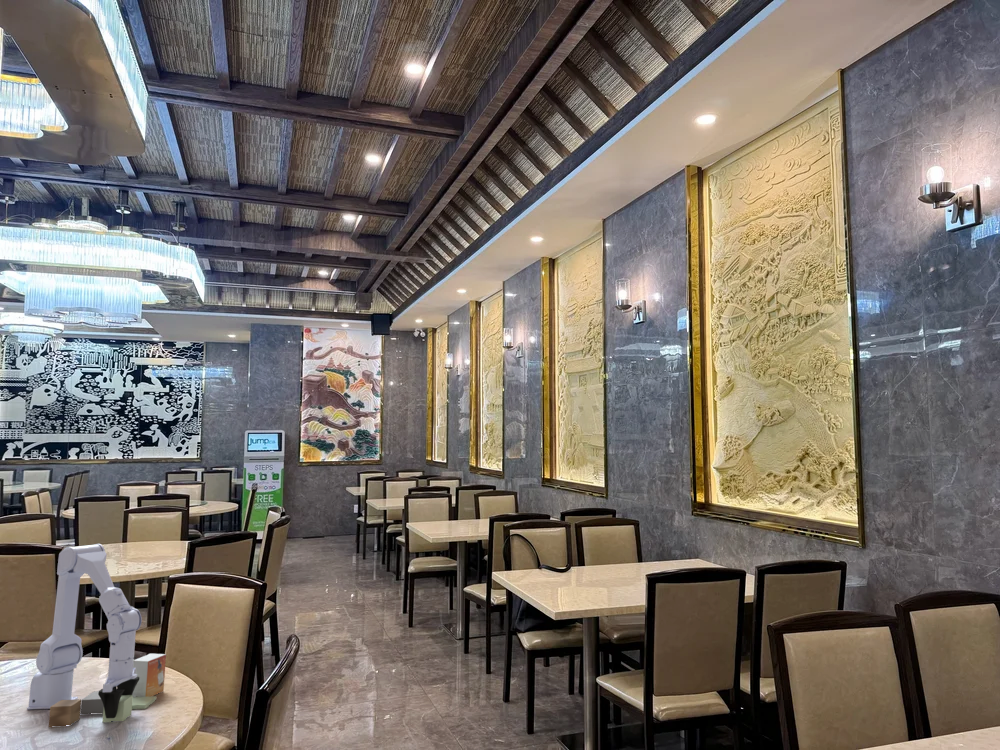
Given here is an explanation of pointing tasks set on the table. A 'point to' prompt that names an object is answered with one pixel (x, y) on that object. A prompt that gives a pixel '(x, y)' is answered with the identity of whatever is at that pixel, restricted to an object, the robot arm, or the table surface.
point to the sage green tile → (142, 702)
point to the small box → (149, 675)
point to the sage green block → (121, 709)
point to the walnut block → (64, 712)
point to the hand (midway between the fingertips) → (117, 712)
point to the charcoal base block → (92, 704)
